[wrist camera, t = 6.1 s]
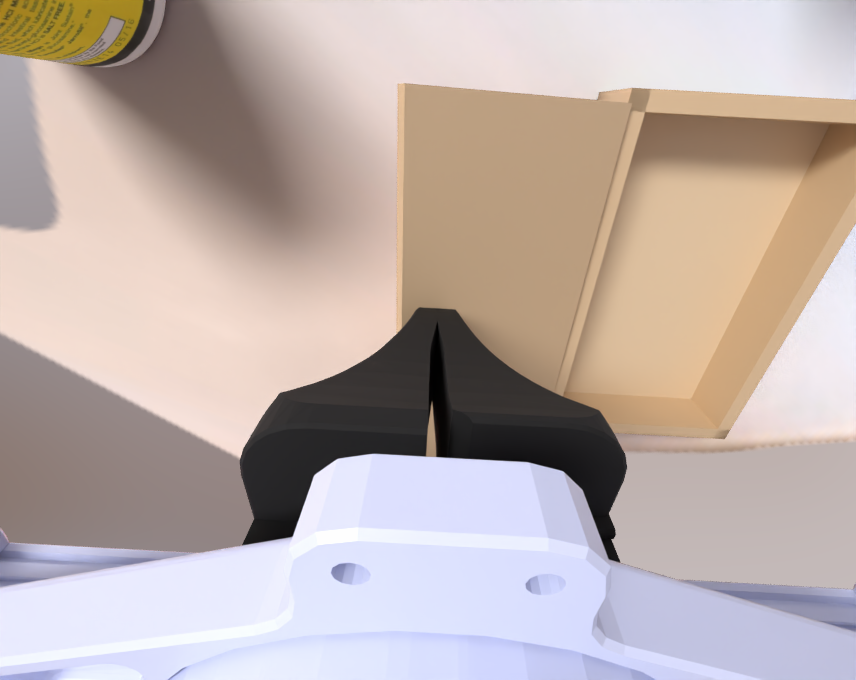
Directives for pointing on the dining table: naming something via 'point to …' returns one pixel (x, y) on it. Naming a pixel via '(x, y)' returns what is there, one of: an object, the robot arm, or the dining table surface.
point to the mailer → (706, 253)
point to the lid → (501, 214)
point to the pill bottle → (80, 30)
